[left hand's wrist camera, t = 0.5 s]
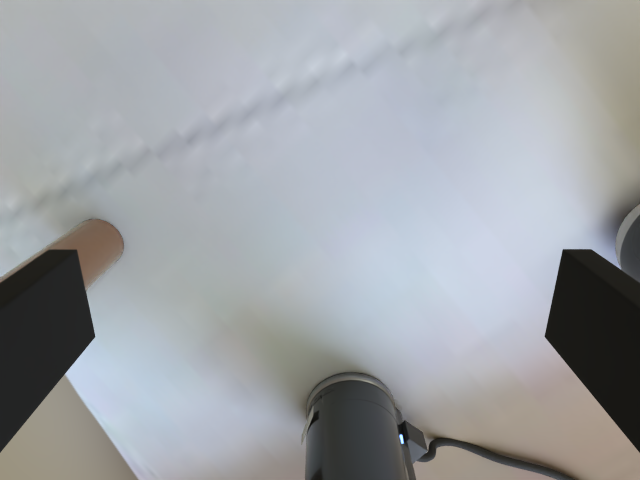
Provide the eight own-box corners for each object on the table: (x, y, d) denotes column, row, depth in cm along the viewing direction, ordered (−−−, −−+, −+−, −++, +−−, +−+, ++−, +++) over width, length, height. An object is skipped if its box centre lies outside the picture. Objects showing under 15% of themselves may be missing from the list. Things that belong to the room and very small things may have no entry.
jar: (100, 209, 41) (-63, 318, 24) (134, 249, 42) (4, 379, 25) (63, 235, 42) (-120, 358, 24) (97, 273, 43) (-53, 415, 26)
